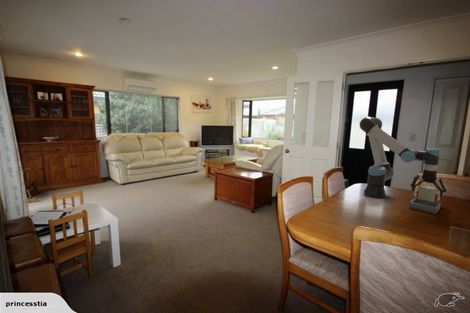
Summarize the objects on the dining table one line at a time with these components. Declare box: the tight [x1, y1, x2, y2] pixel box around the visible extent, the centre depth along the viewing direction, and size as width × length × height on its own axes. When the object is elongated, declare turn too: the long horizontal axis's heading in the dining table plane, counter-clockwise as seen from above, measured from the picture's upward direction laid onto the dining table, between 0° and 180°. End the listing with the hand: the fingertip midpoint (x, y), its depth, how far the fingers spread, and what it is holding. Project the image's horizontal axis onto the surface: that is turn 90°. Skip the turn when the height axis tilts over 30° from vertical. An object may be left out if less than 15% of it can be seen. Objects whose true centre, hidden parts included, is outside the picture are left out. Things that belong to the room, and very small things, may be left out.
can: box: [417, 185, 437, 202], centre depth 164 cm, size 9×9×12 cm
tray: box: [408, 197, 441, 215], centre depth 152 cm, size 14×14×4 cm
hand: (426, 198), depth 164 cm, fingers open, 13 cm apart
